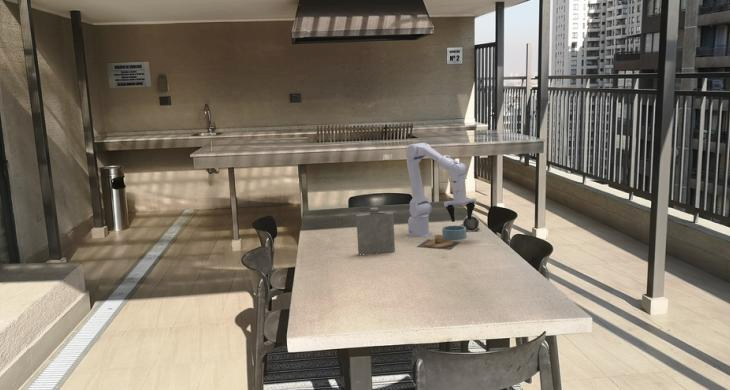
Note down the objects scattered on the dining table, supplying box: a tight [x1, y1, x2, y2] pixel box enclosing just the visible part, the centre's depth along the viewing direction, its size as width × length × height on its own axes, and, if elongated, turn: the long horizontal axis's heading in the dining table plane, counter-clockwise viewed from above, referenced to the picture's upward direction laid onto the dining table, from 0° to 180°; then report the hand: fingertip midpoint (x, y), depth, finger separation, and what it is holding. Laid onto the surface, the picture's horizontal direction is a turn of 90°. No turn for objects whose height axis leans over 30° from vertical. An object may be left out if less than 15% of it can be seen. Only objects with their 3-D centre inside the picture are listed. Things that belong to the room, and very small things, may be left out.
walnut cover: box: [423, 234, 454, 249], centre depth 267 cm, size 13×13×4 cm
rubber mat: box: [416, 238, 461, 251], centre depth 267 cm, size 16×14×1 cm
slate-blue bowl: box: [441, 225, 467, 241], centre depth 279 cm, size 11×11×4 cm
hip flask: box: [355, 207, 396, 256], centre depth 258 cm, size 16×4×20 cm, turn 94°
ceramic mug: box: [458, 213, 480, 232], centre depth 293 cm, size 11×8×8 cm
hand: (461, 220), depth 268 cm, fingers open, 7 cm apart
